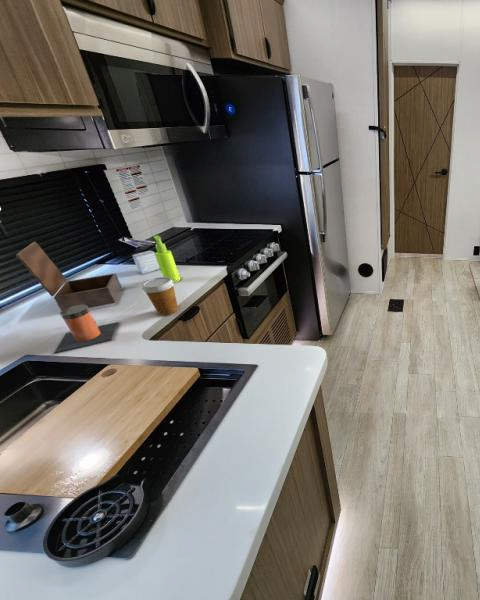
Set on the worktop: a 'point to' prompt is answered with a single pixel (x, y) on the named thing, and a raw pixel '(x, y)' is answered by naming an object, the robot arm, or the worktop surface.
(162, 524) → the worktop surface
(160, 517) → the worktop surface
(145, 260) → the medicine box
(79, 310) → the jar
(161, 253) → the soap dispenser
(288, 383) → the worktop surface
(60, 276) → the chest lid
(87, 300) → the chest
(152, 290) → the disposable coffee cup
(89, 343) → the mat
